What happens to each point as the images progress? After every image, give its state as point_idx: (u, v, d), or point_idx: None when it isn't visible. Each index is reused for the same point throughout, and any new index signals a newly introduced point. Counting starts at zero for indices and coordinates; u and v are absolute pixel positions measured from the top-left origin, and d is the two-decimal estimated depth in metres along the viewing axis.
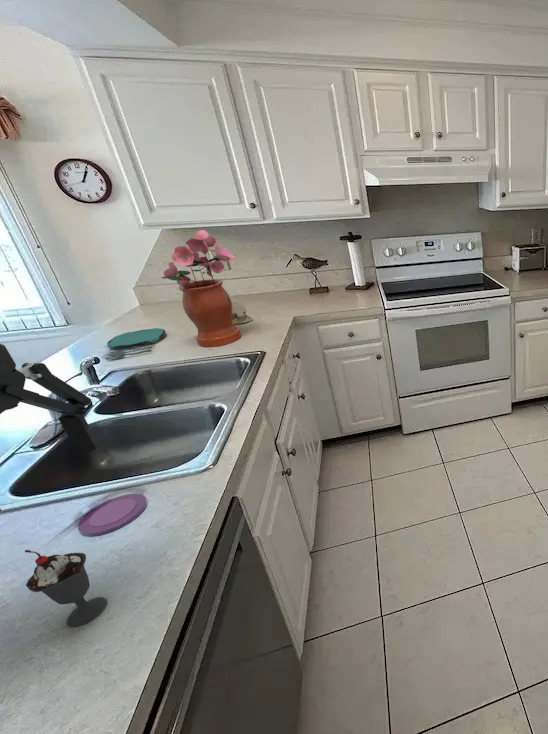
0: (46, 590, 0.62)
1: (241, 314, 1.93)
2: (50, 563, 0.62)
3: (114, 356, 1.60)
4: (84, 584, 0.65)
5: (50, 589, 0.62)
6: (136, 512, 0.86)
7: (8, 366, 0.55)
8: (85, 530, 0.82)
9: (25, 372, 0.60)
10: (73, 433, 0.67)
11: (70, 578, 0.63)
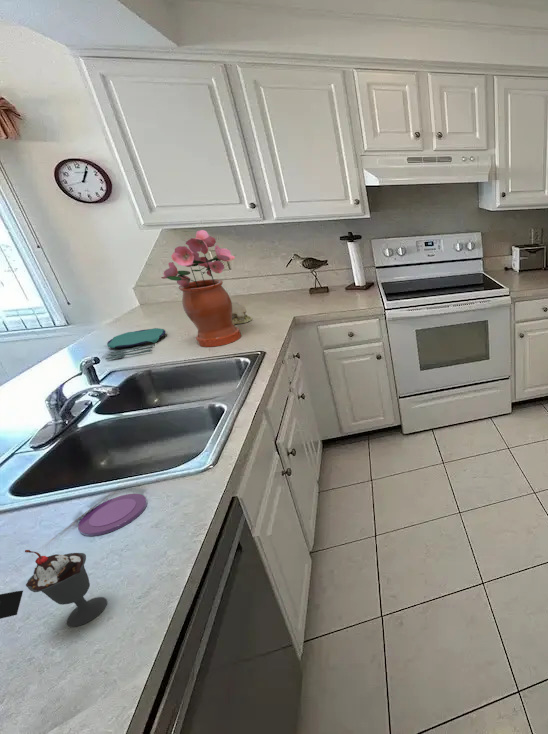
0: (46, 590, 0.62)
1: (241, 314, 1.93)
2: (50, 563, 0.62)
3: (114, 356, 1.60)
4: (84, 584, 0.65)
5: (50, 589, 0.62)
6: (136, 512, 0.86)
7: None
8: (85, 530, 0.82)
9: None
10: None
11: (70, 578, 0.63)
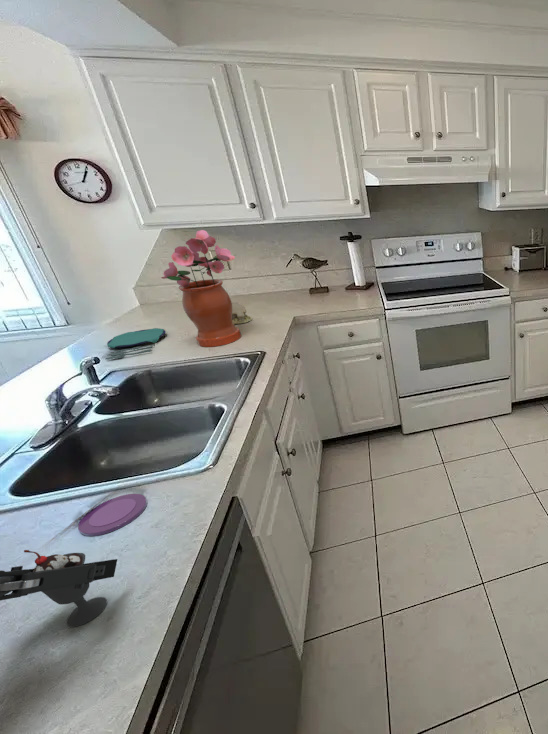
0: None
1: (241, 314, 1.93)
2: (49, 563, 0.62)
3: (114, 356, 1.60)
4: (84, 584, 0.65)
5: None
6: (136, 512, 0.86)
7: None
8: (85, 530, 0.82)
9: (10, 589, 0.53)
10: None
11: None
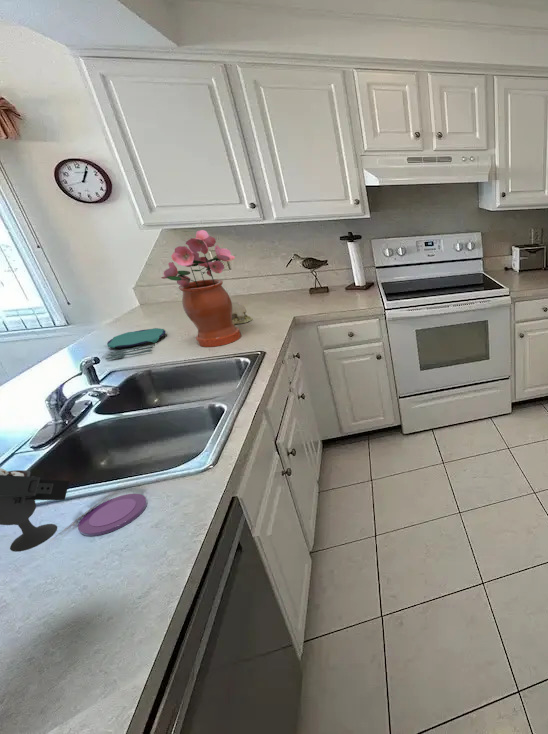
0: None
1: (241, 314, 1.93)
2: None
3: (114, 356, 1.60)
4: (28, 504, 0.58)
5: None
6: (136, 512, 0.86)
7: None
8: (85, 530, 0.82)
9: None
10: None
11: None
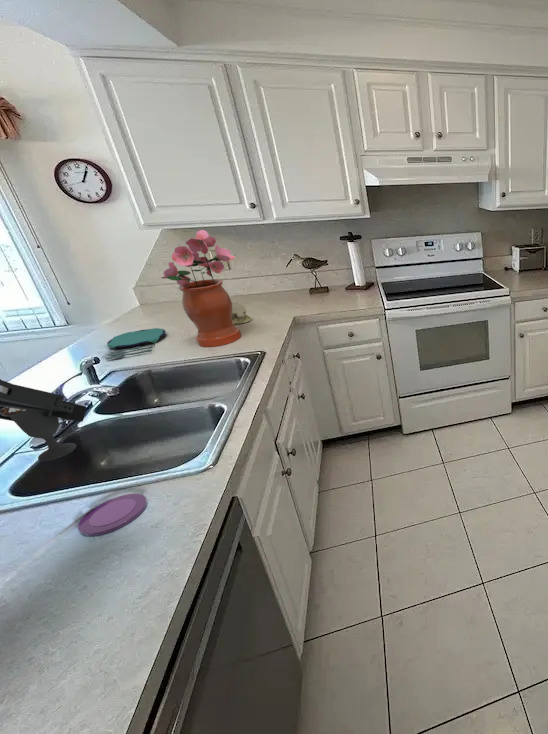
0: (16, 417, 0.67)
1: (241, 314, 1.93)
2: None
3: (114, 356, 1.60)
4: (53, 421, 0.70)
5: (20, 416, 0.67)
6: (136, 512, 0.86)
7: None
8: (85, 530, 0.82)
9: None
10: None
11: None
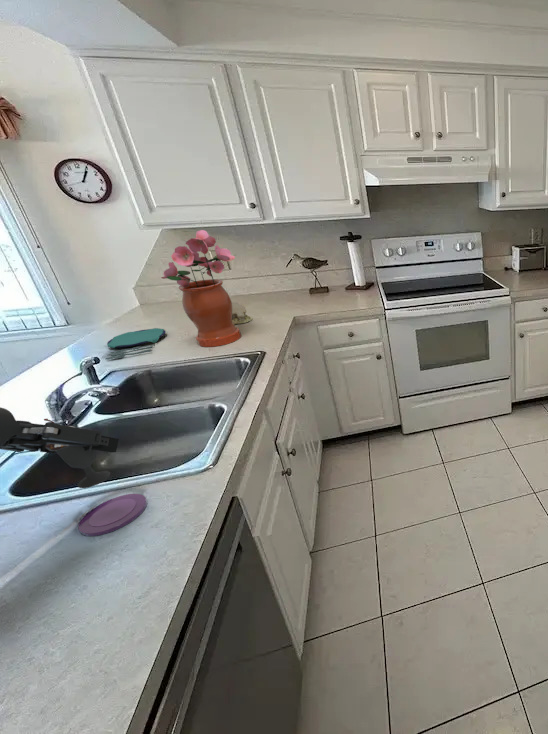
0: (61, 451, 0.76)
1: (241, 314, 1.93)
2: None
3: (114, 356, 1.60)
4: (91, 453, 0.80)
5: (64, 451, 0.77)
6: (136, 512, 0.86)
7: None
8: (85, 530, 0.82)
9: (35, 433, 0.68)
10: None
11: None
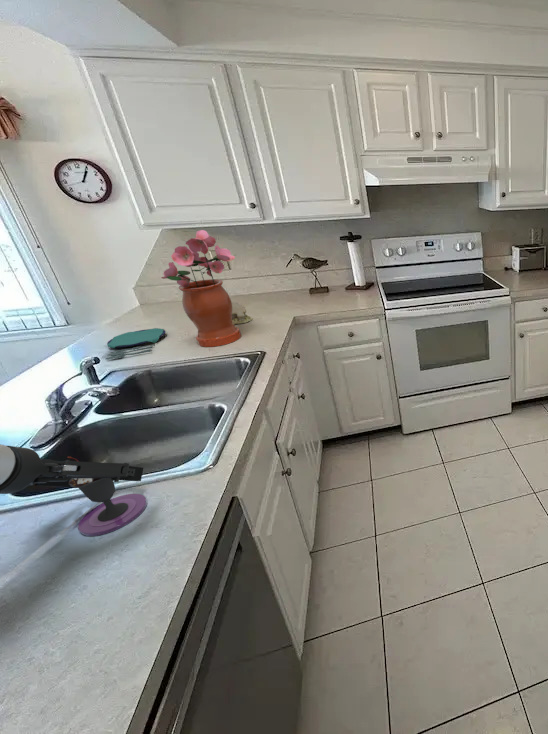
0: (83, 487, 0.80)
1: (241, 314, 1.93)
2: None
3: (114, 356, 1.60)
4: (111, 487, 0.84)
5: (86, 487, 0.80)
6: (136, 512, 0.86)
7: (14, 491, 0.67)
8: (85, 530, 0.82)
9: (56, 471, 0.71)
10: None
11: (101, 480, 0.81)
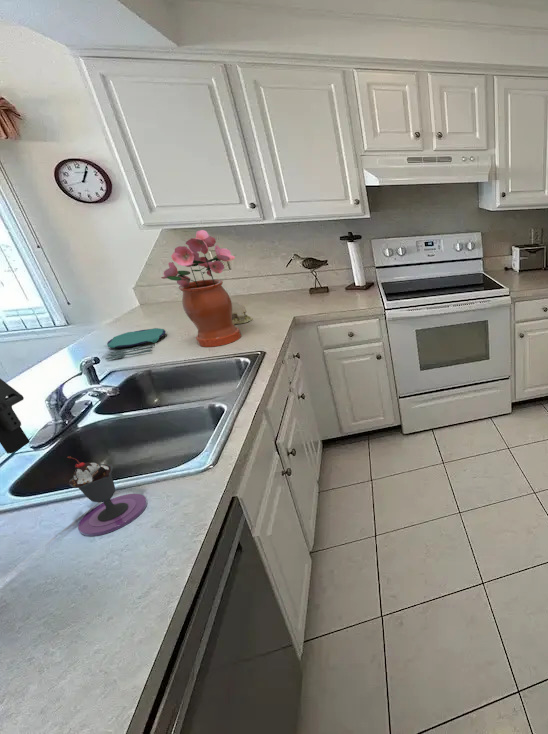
0: (83, 487, 0.80)
1: (241, 314, 1.93)
2: (86, 467, 0.81)
3: (114, 356, 1.60)
4: (111, 487, 0.84)
5: (86, 487, 0.80)
6: (136, 512, 0.86)
7: None
8: (85, 530, 0.82)
9: None
10: None
11: (101, 480, 0.81)
